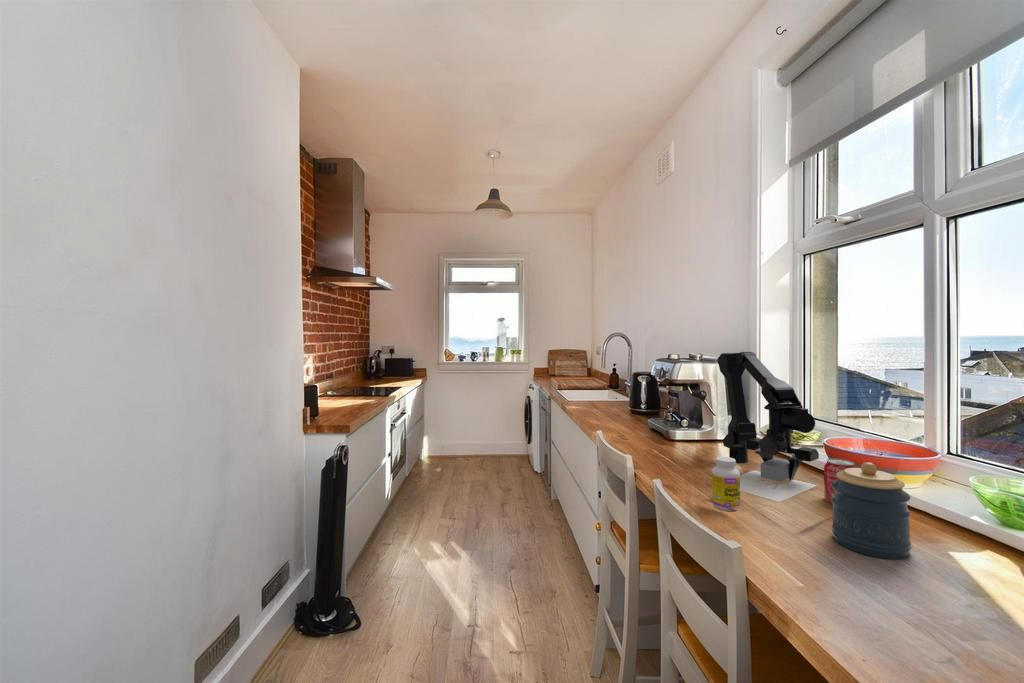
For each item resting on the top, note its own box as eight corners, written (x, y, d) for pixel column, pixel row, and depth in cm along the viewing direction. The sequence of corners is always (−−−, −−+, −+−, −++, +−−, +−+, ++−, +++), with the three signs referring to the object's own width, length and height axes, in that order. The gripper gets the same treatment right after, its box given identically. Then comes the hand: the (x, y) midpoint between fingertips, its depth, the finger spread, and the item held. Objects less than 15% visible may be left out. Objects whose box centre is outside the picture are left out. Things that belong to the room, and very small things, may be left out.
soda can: (846, 502, 115) (845, 457, 115) (865, 513, 108) (864, 465, 108) (818, 502, 116) (817, 457, 116) (835, 512, 109) (834, 465, 109)
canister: (880, 565, 84) (879, 474, 84) (817, 536, 96) (816, 457, 96) (927, 555, 87) (926, 468, 87) (861, 528, 100) (859, 452, 100)
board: (754, 474, 140) (754, 470, 140) (817, 490, 125) (817, 485, 125) (714, 488, 128) (714, 483, 128) (779, 507, 113) (779, 501, 113)
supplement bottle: (723, 513, 110) (722, 463, 110) (706, 504, 116) (706, 456, 116) (746, 511, 111) (745, 461, 111) (728, 501, 117) (728, 454, 117)
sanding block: (776, 473, 135) (775, 457, 135) (795, 477, 131) (794, 461, 131) (760, 479, 130) (760, 463, 130) (780, 484, 126) (779, 467, 126)
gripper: (735, 424, 135) (735, 474, 135) (800, 435, 119) (801, 491, 119) (754, 420, 141) (755, 467, 141) (819, 430, 125) (820, 483, 125)
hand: (780, 477), depth 131 cm, fingers closed on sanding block, 5 cm apart
